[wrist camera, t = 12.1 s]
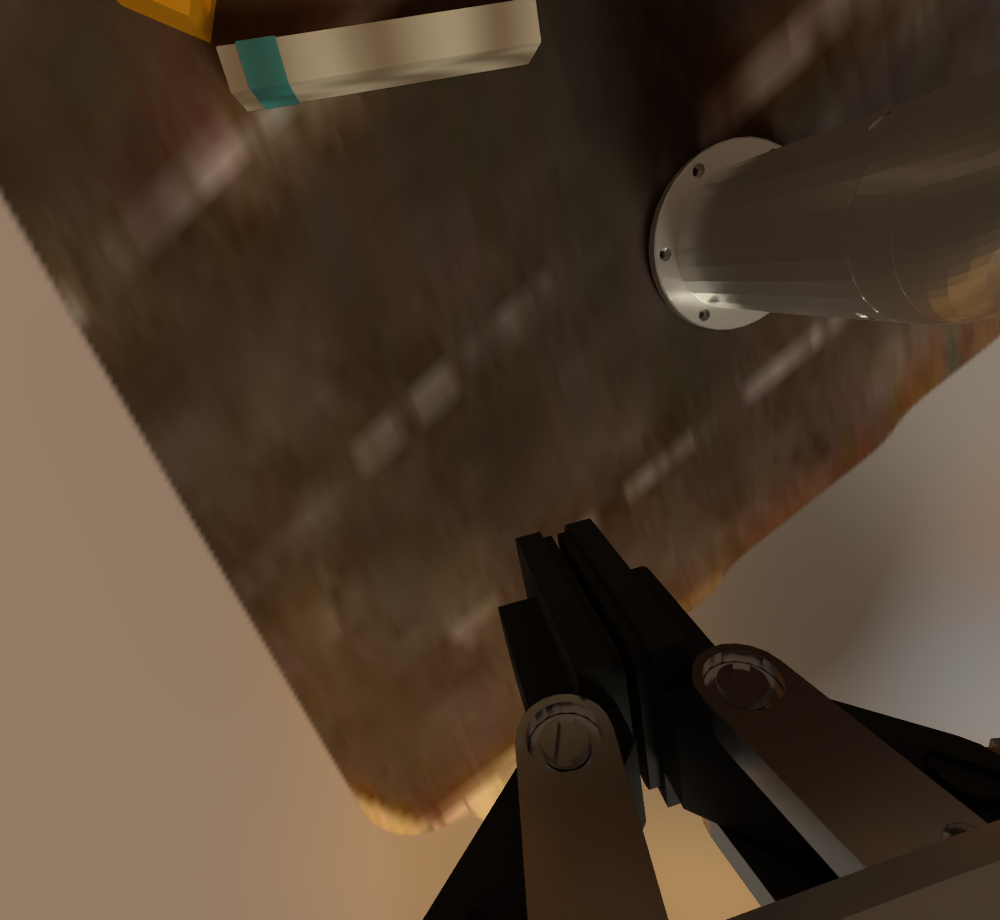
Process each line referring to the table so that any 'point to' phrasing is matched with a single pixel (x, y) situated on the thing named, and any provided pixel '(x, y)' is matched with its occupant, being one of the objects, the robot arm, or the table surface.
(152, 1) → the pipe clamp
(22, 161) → the table surface
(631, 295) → the table surface
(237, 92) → the channel
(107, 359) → the table surface
